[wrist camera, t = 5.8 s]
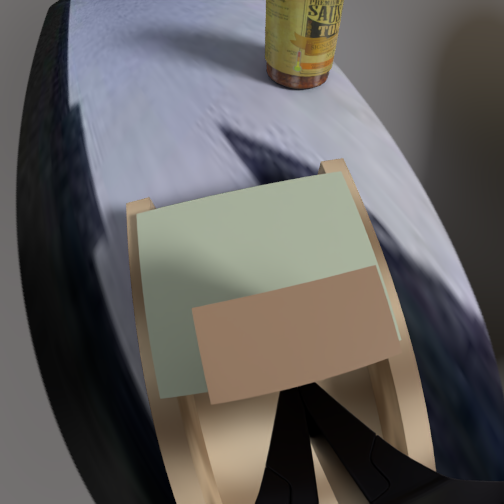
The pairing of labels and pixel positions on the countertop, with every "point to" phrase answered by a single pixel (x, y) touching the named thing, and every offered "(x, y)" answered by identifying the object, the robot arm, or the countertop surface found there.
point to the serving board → (274, 402)
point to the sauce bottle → (301, 40)
